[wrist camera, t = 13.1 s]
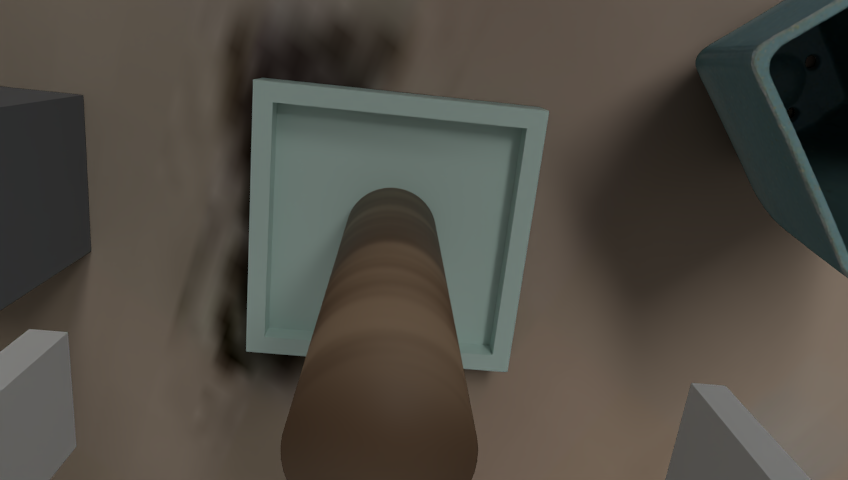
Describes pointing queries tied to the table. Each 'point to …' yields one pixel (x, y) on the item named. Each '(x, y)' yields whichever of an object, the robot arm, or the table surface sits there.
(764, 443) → the robot arm
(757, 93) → the flower pot
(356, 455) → the dowel
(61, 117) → the pen cup
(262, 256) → the tray
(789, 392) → the table surface
